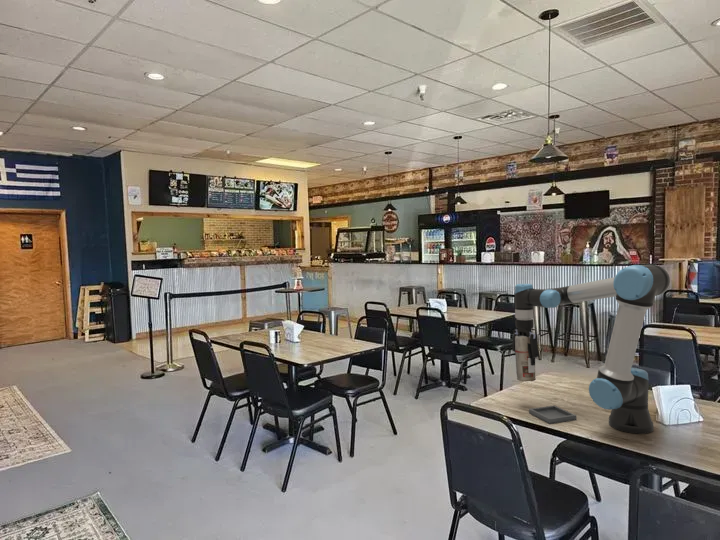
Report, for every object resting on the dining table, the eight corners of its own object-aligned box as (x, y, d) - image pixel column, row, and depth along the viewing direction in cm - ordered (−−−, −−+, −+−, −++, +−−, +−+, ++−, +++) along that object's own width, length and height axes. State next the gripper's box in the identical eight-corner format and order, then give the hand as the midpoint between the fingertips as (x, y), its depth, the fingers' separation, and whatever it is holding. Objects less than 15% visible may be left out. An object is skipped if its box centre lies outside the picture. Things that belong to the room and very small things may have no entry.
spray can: (514, 381, 204) (513, 335, 203) (517, 376, 211) (516, 332, 210) (534, 383, 200) (533, 337, 199) (537, 378, 207) (536, 333, 206)
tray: (576, 420, 189) (576, 415, 189) (549, 424, 185) (549, 419, 185) (554, 409, 202) (554, 405, 202) (528, 413, 198) (528, 408, 198)
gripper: (547, 321, 195) (548, 374, 196) (517, 315, 216) (518, 364, 216) (532, 322, 193) (533, 376, 194) (503, 316, 213) (504, 365, 214)
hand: (525, 370), depth 205 cm, fingers closed on spray can, 8 cm apart
